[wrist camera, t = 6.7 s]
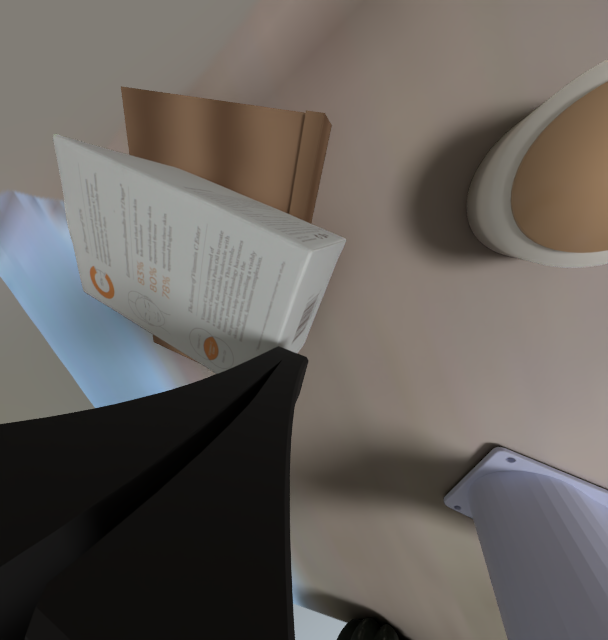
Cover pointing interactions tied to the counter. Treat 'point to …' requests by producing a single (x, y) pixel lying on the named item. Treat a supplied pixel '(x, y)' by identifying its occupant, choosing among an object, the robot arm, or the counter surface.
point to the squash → (367, 631)
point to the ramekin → (549, 181)
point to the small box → (192, 256)
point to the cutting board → (232, 147)
